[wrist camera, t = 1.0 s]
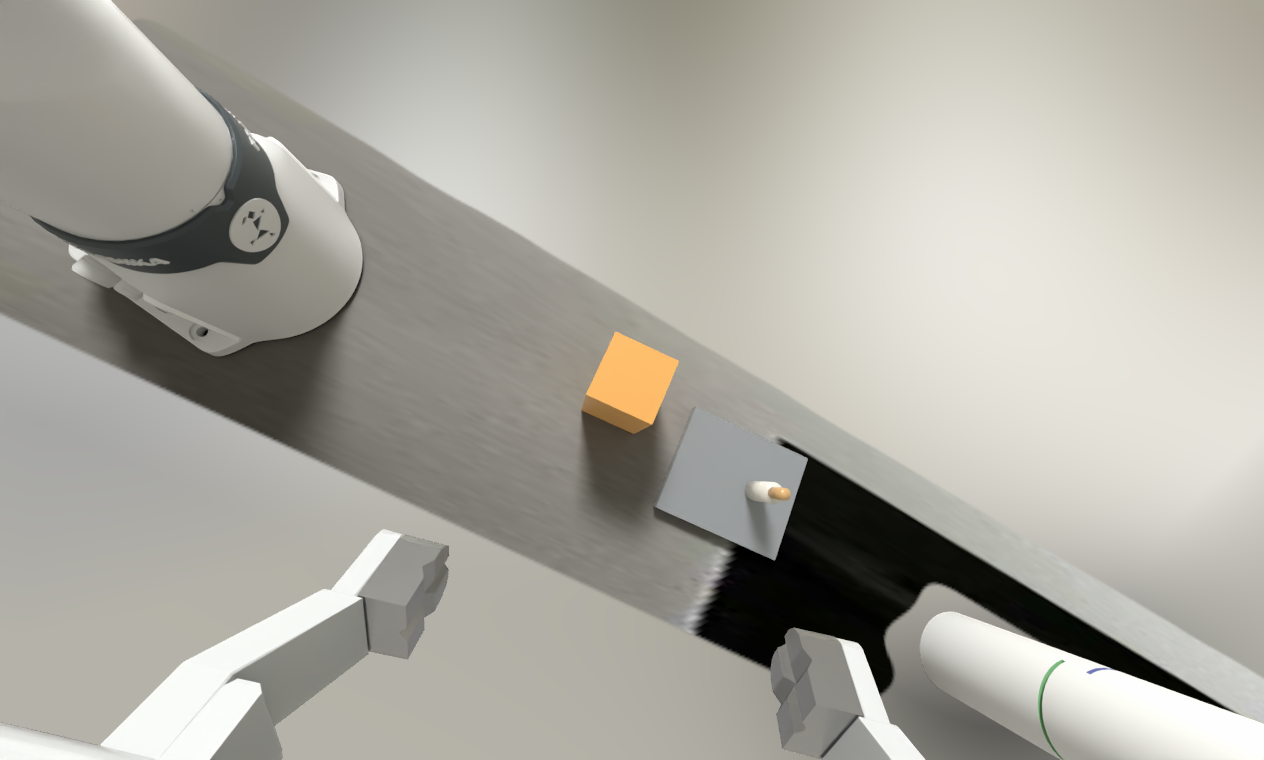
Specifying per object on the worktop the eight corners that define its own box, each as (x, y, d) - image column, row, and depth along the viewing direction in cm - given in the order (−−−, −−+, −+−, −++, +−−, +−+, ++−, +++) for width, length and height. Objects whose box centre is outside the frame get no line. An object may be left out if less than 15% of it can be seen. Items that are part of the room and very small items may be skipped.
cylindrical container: (995, 686, 42) (1581, 982, 18) (929, 701, 41) (1460, 1038, 17) (976, 606, 43) (1499, 779, 19) (912, 617, 42) (1383, 818, 18)
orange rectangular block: (581, 410, 41) (586, 394, 33) (605, 359, 43) (615, 331, 34) (633, 434, 42) (652, 424, 33) (655, 383, 43) (679, 361, 34)
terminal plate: (653, 506, 41) (655, 507, 40) (693, 408, 43) (696, 406, 42) (769, 558, 41) (775, 560, 40) (802, 458, 44) (807, 458, 43)
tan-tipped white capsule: (741, 496, 41) (771, 500, 35) (748, 477, 41) (778, 479, 36) (759, 503, 41) (791, 509, 35) (765, 485, 42) (798, 488, 36)
